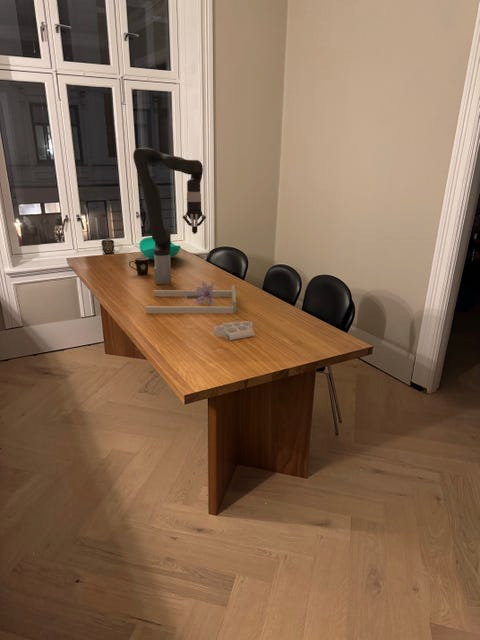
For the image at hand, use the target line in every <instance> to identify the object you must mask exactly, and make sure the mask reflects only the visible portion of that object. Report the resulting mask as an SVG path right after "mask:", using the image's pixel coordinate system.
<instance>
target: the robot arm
mask: <svg viewBox="0 0 480 640" xmlns="http://www.w3.org/2000/svg"><path fill="white" fill-rule="evenodd" d="M132 157H133V161H134V162H133V163H134V165H135V168H136V171H137V175H138V178H139V182H140V186H141V190H142V194H143V195H142V196H143V199H144V202H145V207H146V211H147V216H148V220H149V226H150V234H151V237H152V238H153V240H154V241H155V248H154V260H153V261H154V267H153V268H154V270H153V271H154V284H156V285H169V284H172V269H171V268H172V267H171V265H172V264H171V258H170V249H171V242H172V241H171V240H172V239H171V237H172V236H171V231H170V229H169V228H168V226H165V224H164V221H163V201H162V196H161V192H160V189H159V186H158V185H157V184H156V181H154V179H153V177H152V176H151V173H150V170H149V166H153V165H156V166H157V165H158V166H162V167H164V168H166V169H168V170H171V171H176V172H180V173H183V174H185V175H189V176H190V179H188V180H187V181H186V212H185V214H184V215H182V218H183V220H184V221H185V222H186V224H187V225H188V226H190V227H191V233H192V235H194V234H195V235H196V234H197V233H198V227H200V226H201V225H202V224H203V222H204V221H205V219H206V218H207V215H204V214H203V211H202V193H201V192H202V191H201V187H202V186H201V181H202V179H203V178H202V177H203V172H204V168H203V167H204V166H203V164H202V162H201V161H200V160H198V159H185V158H183V157H180V156H176V155H171V154H166V153H163V152H160V151H158V150H154V149H152V148H149V147H140V148H139V147H137V148H135V149H134V151H133V155H132ZM188 218H189V219H188ZM200 218H201V219H200ZM198 220H199V222H198Z"/></svg>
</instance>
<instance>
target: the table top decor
mask: <svg viewBox="0 0 480 640" xmlns="http://www.w3.org/2000/svg"><path fill="white" fill-rule="evenodd" d="M181 247H182V246H180V245H176V244H174V243H173V242H172V241H171V249H170V259H171V258H173V257H175V256H176V255H177V254H178V253H179V252H180V250H181ZM154 248H155V241H154V240H153V238H152V236H149V237H148V236H147V237H145V238H142V239H141V240H140V241H139V251H140V252H141V254H143V255H144V257H147V258H149V259H150V260H153V261H154Z"/></svg>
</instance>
